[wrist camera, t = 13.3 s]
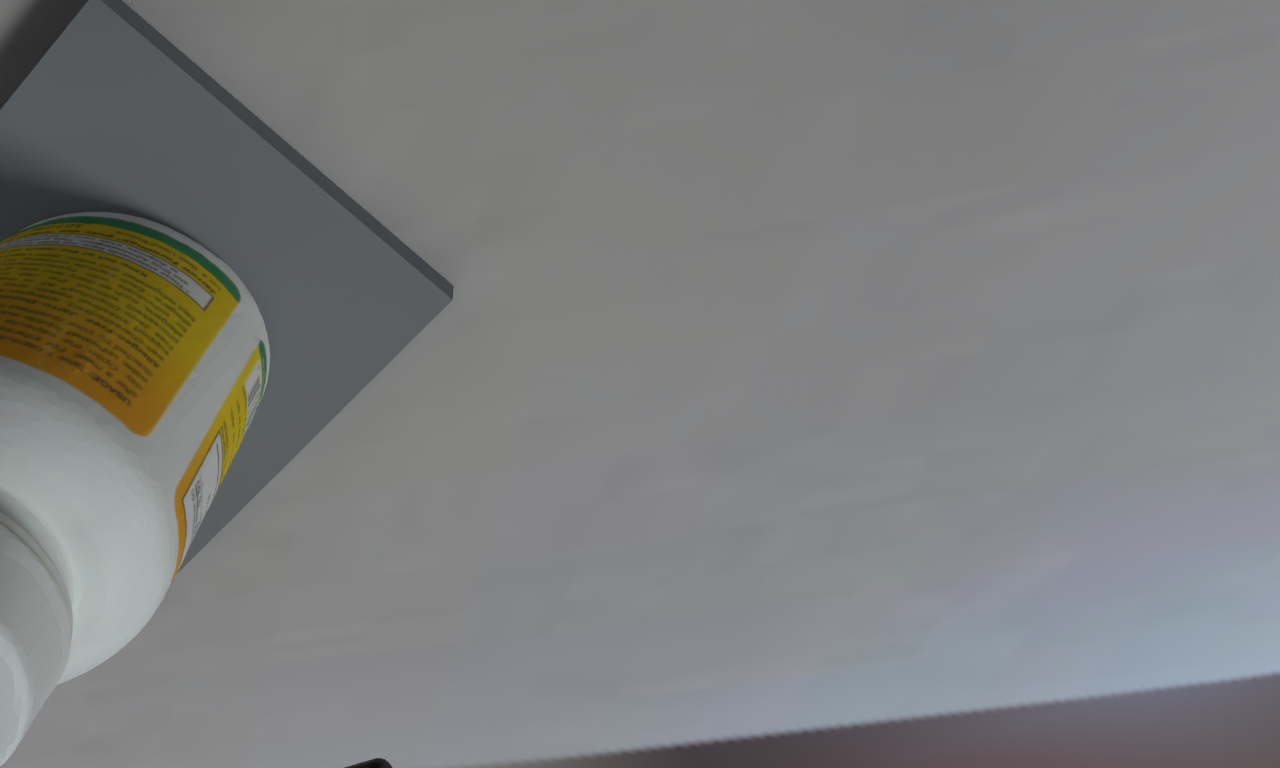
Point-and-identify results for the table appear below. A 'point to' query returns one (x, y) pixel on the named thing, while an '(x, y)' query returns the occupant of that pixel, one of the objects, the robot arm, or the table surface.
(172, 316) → the supplement bottle
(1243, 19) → the table surface
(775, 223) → the table surface
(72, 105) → the mat
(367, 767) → the robot arm
